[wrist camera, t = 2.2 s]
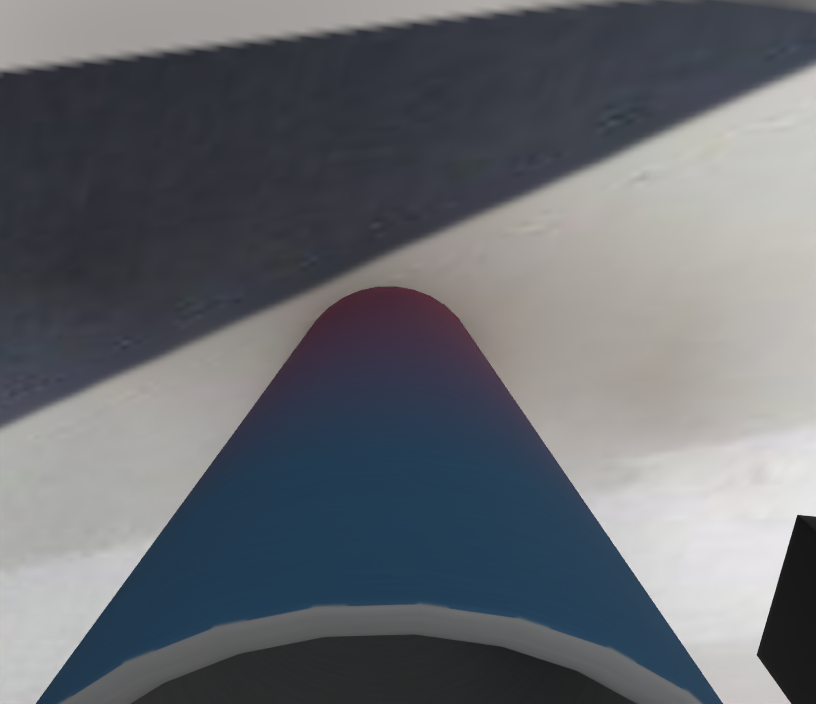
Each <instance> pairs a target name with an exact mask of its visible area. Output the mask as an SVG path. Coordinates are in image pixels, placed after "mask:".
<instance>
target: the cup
mask: <svg viewBox="0 0 816 704" xmlns="http://www.w3.org/2000/svg"><path fill="white" fill-rule="evenodd" d="M36 704H723V703H722V702H721V700H720V699H719V697H718V696H717V694H716V693H715V691H714V690H713V689H712V687H711V686H710V684H709V683H708V681H707V680H706V678H705V677H704V675H703V674H702V672H701V671H700V670H699V668H698V667H697V665H696V664H695V662H694V661H693V659H692V658H691V656H690V655H689V654H688V652H687V651H686V649H685V648H684V646H683V645H682V643H681V642H680V640H679V639H678V638H677V636H676V635H675V633H674V632H673V630H672V629H671V627H670V626H669V624H668V623H667V621H666V620H665V619H664V617H663V616H662V614H661V613H660V611H659V610H658V608H657V607H656V605H655V604H654V603H653V601H652V600H651V598H650V597H649V595H648V594H647V592H646V591H645V589H644V588H643V586H642V585H641V584H640V582H639V581H638V579H637V578H636V576H635V575H634V573H633V572H632V570H631V569H630V568H629V566H628V565H627V563H626V562H625V560H624V559H623V557H622V556H621V554H620V553H619V552H618V550H617V549H616V547H615V546H614V544H613V543H612V541H611V540H610V538H609V537H608V535H607V534H606V533H605V531H604V530H603V528H602V527H601V525H600V524H599V522H598V521H597V519H596V518H595V517H594V515H593V514H592V512H591V511H590V509H589V508H588V506H587V505H586V503H585V502H584V501H583V499H582V498H581V496H580V495H579V493H578V492H577V490H576V489H575V487H574V486H573V484H572V483H571V482H570V480H569V479H568V477H567V476H566V474H565V473H564V471H563V470H562V468H561V467H560V466H559V464H558V463H557V461H556V460H555V458H554V457H553V455H552V454H551V452H550V451H549V450H548V448H547V447H546V445H545V444H544V442H543V441H542V439H541V438H540V436H539V435H538V433H537V432H536V431H535V429H534V428H533V426H532V425H531V423H530V422H529V420H528V419H527V417H526V416H525V415H524V413H523V412H522V410H521V409H520V407H519V406H518V404H517V403H516V401H515V400H514V398H513V397H512V396H511V394H510V393H509V391H508V390H507V388H506V387H505V385H504V384H503V382H502V381H501V380H500V378H499V377H498V375H497V374H496V372H495V371H494V369H493V368H492V366H491V365H490V364H489V362H488V361H487V359H486V358H485V356H484V355H483V353H482V352H481V350H480V349H479V347H478V346H477V345H476V343H475V342H474V340H473V339H472V337H471V336H470V334H469V333H468V331H467V330H466V329H465V327H464V326H463V324H462V323H461V321H460V320H459V318H458V317H457V316H456V315H455V314H453V313H452V312H451V311H450V310H449V309H448V308H447V307H446V306H445V305H443V304H442V303H440V302H439V301H437V300H435V299H434V298H432V297H431V296H428V295H426V294H423V293H421V292H418V291H415V290H412V289H406V288H401V287H375V288H370V289H366V290H361V291H358V292H356V293H353V294H351V295H349V296H346V297H344V298H342V299H341V300H339V301H338V302H336V303H335V304H333V305H332V306H331V307H329V308H328V309H327V310H326V311H325V312H324V313H323V314H322V315H321V316H320V317H319V318H318V319H317V320H316V321H315V323H314V324H313V326H312V327H311V328H310V330H309V331H308V332H307V334H306V335H305V337H304V338H303V339H302V341H301V342H300V343H299V345H298V346H297V347H296V349H295V350H294V352H293V353H292V354H291V356H290V357H289V358H288V360H287V361H286V362H285V364H284V365H283V367H282V368H281V369H280V371H279V372H278V373H277V375H276V376H275V378H274V379H273V380H272V382H271V383H270V384H269V386H268V387H267V388H266V390H265V391H264V393H263V394H262V395H261V397H260V398H259V399H258V401H257V402H256V403H255V405H254V406H253V408H252V409H251V410H250V412H249V413H248V414H247V416H246V417H245V419H244V420H243V421H242V423H241V424H240V425H239V427H238V428H237V429H236V431H235V432H234V434H233V435H232V436H231V438H230V439H229V440H228V442H227V443H226V444H225V446H224V447H223V449H222V450H221V451H220V453H219V454H218V455H217V457H216V458H215V459H214V461H213V462H212V464H211V465H210V466H209V468H208V469H207V470H206V472H205V473H204V475H203V476H202V477H201V479H200V480H199V481H198V483H197V484H196V485H195V487H194V488H193V490H192V491H191V492H190V494H189V495H188V496H187V498H186V499H185V500H184V502H183V503H182V505H181V506H180V507H179V509H178V510H177V511H176V513H175V514H174V516H173V517H172V518H171V520H170V521H169V522H168V524H167V525H166V526H165V528H164V529H163V531H162V532H161V533H160V535H159V536H158V537H157V539H156V540H155V541H154V543H153V544H152V546H151V547H150V548H149V550H148V551H147V552H146V554H145V555H144V557H143V558H142V559H141V561H140V562H139V563H138V565H137V566H136V567H135V569H134V570H133V572H132V573H131V574H130V576H129V577H128V578H127V580H126V581H125V582H124V584H123V585H122V587H121V588H120V589H119V591H118V592H117V593H116V595H115V596H114V598H113V599H112V600H111V602H110V603H109V604H108V606H107V607H106V608H105V610H104V611H103V613H102V614H101V615H100V617H99V618H98V619H97V621H96V622H95V623H94V625H93V626H92V628H91V629H90V630H89V632H88V633H87V634H86V636H85V637H84V638H83V640H82V641H81V643H80V644H79V645H78V647H77V648H76V649H75V651H74V652H73V654H72V655H71V656H70V658H69V659H68V660H67V662H66V663H65V664H64V666H63V667H62V669H61V670H60V671H59V673H58V674H57V675H56V677H55V678H54V679H53V681H52V682H51V684H50V685H49V686H48V688H47V689H46V690H45V692H44V693H43V695H42V696H41V697H40V699H39V700H38V701H37V703H36Z"/></svg>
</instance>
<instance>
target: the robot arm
mask: <svg viewBox="0 0 816 704" xmlns="http://www.w3.org/2000/svg"><path fill="white" fill-rule="evenodd" d="M757 656H758V657H759V659H760V660H761V662H762V663H763V664H764V666H765V667H766V669H767V670H768V671H769V673H770V674H771V676H772V677H773V678H774V680H775V681H776V683H777V684H778V685H779V687H780V688H781V690H782V691H783V693H784V694H785V695H786V697H787V698H788V700H789V701H790V702H791V704H816V517H813V516H802V515H797V518H796V522H795V525H794V529H793V532H792V535H791V539H790V542H789V546H788V549H787V553H786V556H785V560H784V563H783V566H782V570H781V573H780V577H779V580H778V584H777V587H776V591H775V594H774V597H773V601H772V604H771V608H770V611H769V615H768V618H767V622H766V625H765V628H764V632H763V635H762V639H761V642H760V646H759V649H758V653H757Z"/></svg>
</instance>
